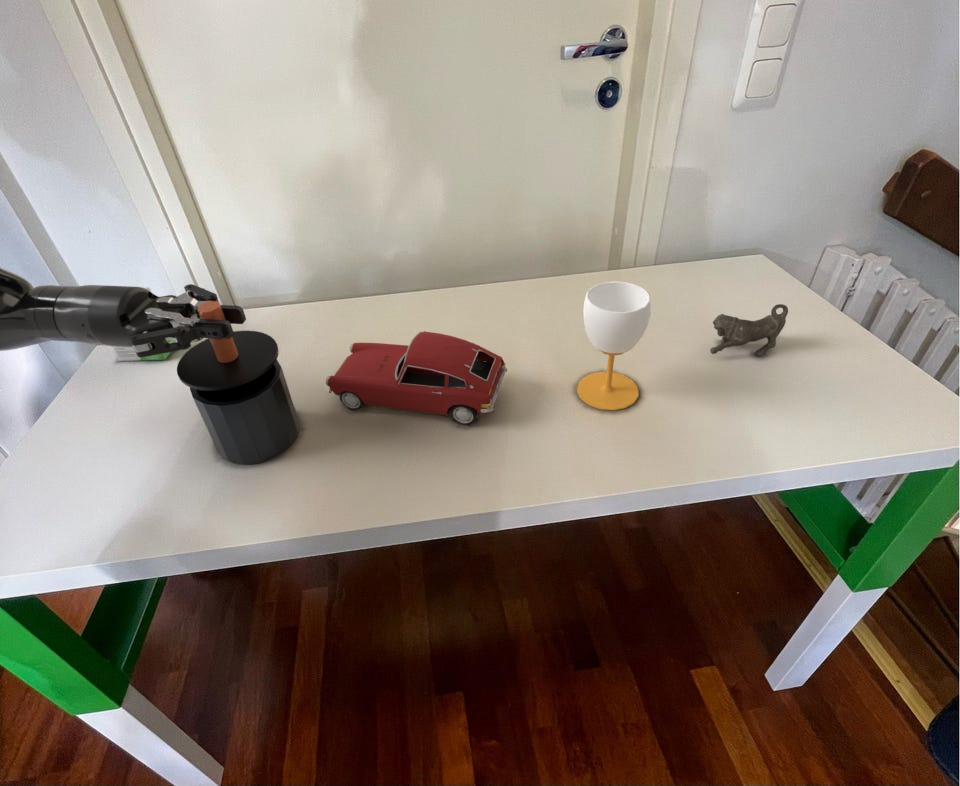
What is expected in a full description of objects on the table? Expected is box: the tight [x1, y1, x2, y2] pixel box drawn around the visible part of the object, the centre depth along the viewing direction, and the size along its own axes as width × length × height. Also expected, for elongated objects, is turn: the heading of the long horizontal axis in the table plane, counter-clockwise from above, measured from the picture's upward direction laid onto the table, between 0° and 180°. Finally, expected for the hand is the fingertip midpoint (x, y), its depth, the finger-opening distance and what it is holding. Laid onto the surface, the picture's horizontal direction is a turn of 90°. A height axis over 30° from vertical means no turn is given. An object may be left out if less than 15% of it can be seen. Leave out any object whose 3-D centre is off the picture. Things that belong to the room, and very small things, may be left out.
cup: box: [576, 280, 652, 412], centre depth 83 cm, size 9×9×16 cm
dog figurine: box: [709, 303, 789, 357], centre depth 93 cm, size 12×6×7 cm, turn 95°
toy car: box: [325, 330, 508, 426], centre depth 87 cm, size 11×25×10 cm, turn 76°
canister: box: [189, 358, 300, 466], centre depth 81 cm, size 11×11×10 cm
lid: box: [176, 301, 280, 391], centre depth 74 cm, size 12×12×9 cm
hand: (236, 322), depth 72 cm, fingers closed on lid, 2 cm apart
